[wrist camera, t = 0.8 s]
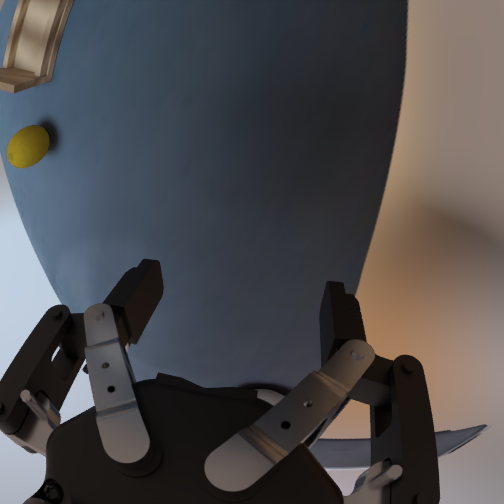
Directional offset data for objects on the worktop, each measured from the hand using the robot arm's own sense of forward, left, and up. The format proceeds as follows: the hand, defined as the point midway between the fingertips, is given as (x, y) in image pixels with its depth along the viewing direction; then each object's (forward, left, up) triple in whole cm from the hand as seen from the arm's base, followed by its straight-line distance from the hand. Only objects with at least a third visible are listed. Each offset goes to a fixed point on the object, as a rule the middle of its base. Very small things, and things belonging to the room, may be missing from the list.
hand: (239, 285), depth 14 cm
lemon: (+11, -31, -21) cm, 38 cm away
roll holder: (-4, -37, -21) cm, 42 cm away
